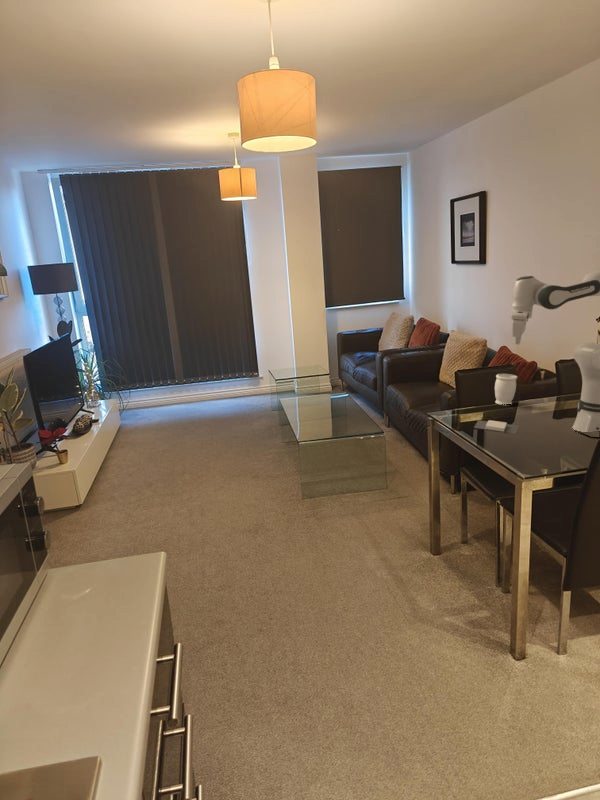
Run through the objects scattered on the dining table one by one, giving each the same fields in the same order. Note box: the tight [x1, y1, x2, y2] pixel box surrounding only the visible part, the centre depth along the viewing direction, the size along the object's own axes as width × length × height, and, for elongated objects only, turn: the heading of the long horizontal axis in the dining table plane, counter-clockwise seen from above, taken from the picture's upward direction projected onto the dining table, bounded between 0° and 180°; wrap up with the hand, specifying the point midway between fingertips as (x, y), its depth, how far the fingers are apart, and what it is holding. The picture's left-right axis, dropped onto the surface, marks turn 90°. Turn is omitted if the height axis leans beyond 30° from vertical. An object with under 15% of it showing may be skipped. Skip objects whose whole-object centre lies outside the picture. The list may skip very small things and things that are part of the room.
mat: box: [473, 419, 519, 435], centre depth 243 cm, size 18×12×1 cm, turn 63°
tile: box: [484, 419, 508, 433], centre depth 242 cm, size 8×2×9 cm
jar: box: [494, 373, 518, 406], centre depth 278 cm, size 11×10×15 cm
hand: (517, 343), depth 241 cm, fingers closed
